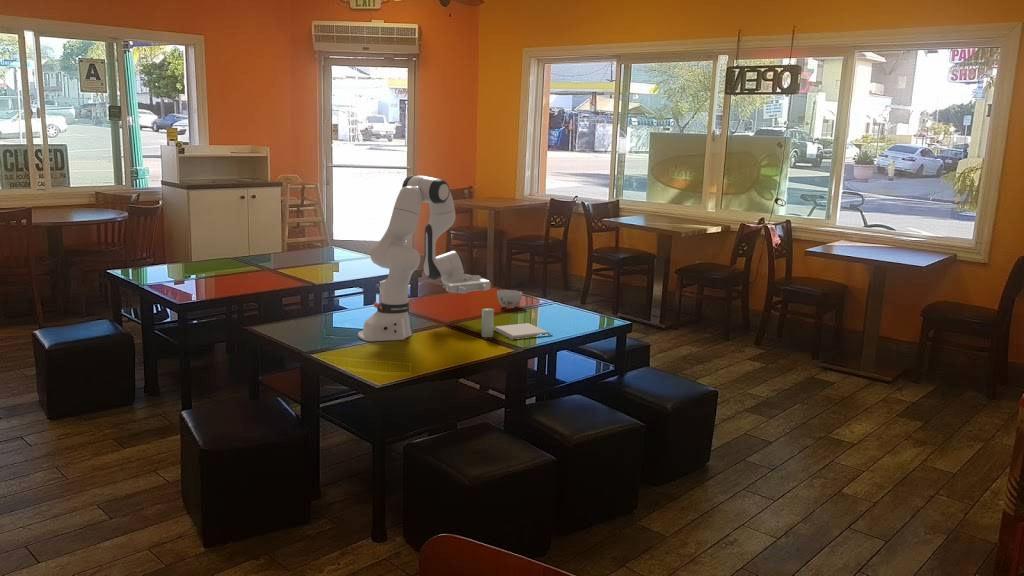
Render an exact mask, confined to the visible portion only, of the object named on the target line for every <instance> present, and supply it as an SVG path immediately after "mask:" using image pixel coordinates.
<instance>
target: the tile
mask: <svg viewBox="0 0 1024 576" xmlns="http://www.w3.org/2000/svg"><path fill="white" fill-rule="evenodd" d="M493 330H494V331H496V332H498V333H500V334H502V335H504V336H506V337H508V338H510V339H516V338H524V337H533V336H537V335H539V334H542V335H545V334H548V335H550V334H552V333H551V332H549V331H547V330H545V329H542V328H540V327H538V326H536V325H534V324H531V323H518V324H517V323H516V324H507V325H497V326H493ZM494 331H493V332H494ZM496 332H495V333H496ZM498 333H497V334H498ZM500 334H499V335H500ZM502 335H501V336H502ZM504 336H503V337H504ZM506 337H505V338H506ZM508 338H507V339H508ZM510 339H509V340H510Z"/></svg>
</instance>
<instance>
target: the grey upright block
mask: <svg viewBox="0 0 1024 576" xmlns="http://www.w3.org/2000/svg"><path fill="white" fill-rule="evenodd" d="M494 311H495V309H494V308H482V309H481V335H480V336H482V337H493V338H494V331H493V327H494V320H495V317H494V316H495V312H494ZM482 337H481V338H482Z"/></svg>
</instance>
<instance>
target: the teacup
mask: <svg viewBox="0 0 1024 576" xmlns="http://www.w3.org/2000/svg"><path fill="white" fill-rule="evenodd" d="M496 292H497V293H496V294H497V295H496V296H497V300H498V302H499V304H500V305H501V307H502V308H503V307H515V308H516V307H517V306H518V305H519V304H520V302H521V299H522V297H523V292H522V291H518V290H513V289H500V290H497V291H496Z"/></svg>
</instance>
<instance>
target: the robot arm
mask: <svg viewBox="0 0 1024 576" xmlns="http://www.w3.org/2000/svg"><path fill="white" fill-rule="evenodd" d="M401 185H402V186H401V189H400V191H399V192H398V195H397V196H396V197H397V198H396V199H395V202H394V206H393V210H392V212H391V213H392V214H391V217H390V221H389V224H388V226H387V229H386V230H385V233H384V234H383V236H382V237H381V239H380V240H379V241H378V242H376V243H375V244H374V245H373V246H371V248H370V252H369V257H370V260H371V262H372V263H374V264H375V265H377V266H378V267H380V268H383V269H388V271H389V272H388V276H387V278H386V279H384V280H385V281H384V282H383V283H382V302H381V303H379V302H374V303H373V307H374V308H376V312H374V313H373V314H372V315H371V316H369V317H367V319H366V320H365V321H364V324H363V328H362V330H361V331H358V333H357V337H358V338H359V339H361V340H363V341H366V342H381V341H383V342H384V341H401V340H406V338H408V337H409V338H410V337H411V336H412V335H413V333H412V330H411V326H410V320H409V319H410V318H409V315H410V302H409V286H410V280H411V277H412V275H413V273H414V272H415V271H416V270H417V269H418V268H419V267H420V264H421V255H420V253H419V251H418V250H417V249H415V248H413V247H411V246H409V245H405V244H406V243H407V240H408V239H409V238H410V237H412V236H413V235H414V234H415V233H416V229H417V225H418V221H419V218H420V213H421V210H422V209H421V208H422V204H423V203H428V208H429V220H428V223H427V224H426V225H425V227H424V242H423V243H424V250H423V252H424V259H423V265H422V266H423V267H422V268H423V272H424V275H425V277H427V279H430V280H433V281H436V280H438V279H441V281H442V284H443V285H442V288H444V289H445V291H446V292H448V293H449V294H456V293H458V294H459V295H460V294H461V295H462V294H463V295H465V294H467V293H471V292H476V291H487V290H488V291H489V290H490V289H491V281H490V280H488V279H486V278H484V277H481V275H477V274H467V273H465V271H466V262H465V258H464V257H463V256H462V254H461V253H459V252H458V251H456V250H451V251H448V252H445V253H444V252H443V253H442V254H440V255H436V243H437V240H438V238H439V237H440V236H441V235H443V234H444V233H445V232H447V231H448V230H449V229H450V228H452V226H453V225H454V223H455V222H456V221H455V220H456V209H455V203H454V199H453V195H452V193H451V192H452V191H451V189H450V186H449V184H448V182H447V181H445V180H444V179H441V178H435V177H431V176H428V175H418V174H411V175H408V176H406V178H405V179H404V181H403V182H402V184H401Z"/></svg>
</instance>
